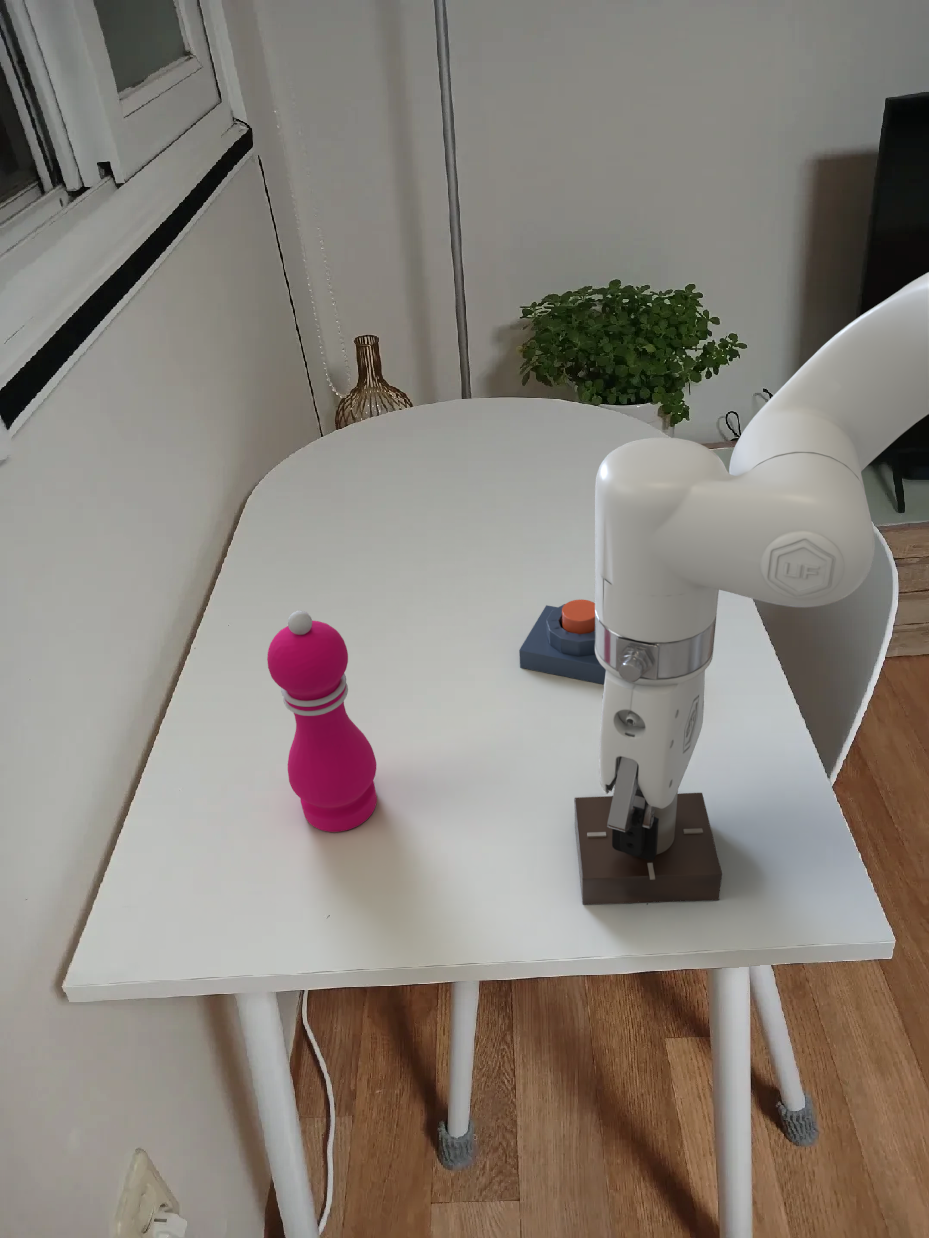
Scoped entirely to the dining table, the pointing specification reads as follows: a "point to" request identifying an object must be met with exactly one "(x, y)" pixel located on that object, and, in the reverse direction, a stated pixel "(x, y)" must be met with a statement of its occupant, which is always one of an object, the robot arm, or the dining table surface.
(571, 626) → the button
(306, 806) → the pepper mill
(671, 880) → the dial panel
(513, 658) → the dining table surface
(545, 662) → the button box
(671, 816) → the dial knob
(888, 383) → the robot arm
